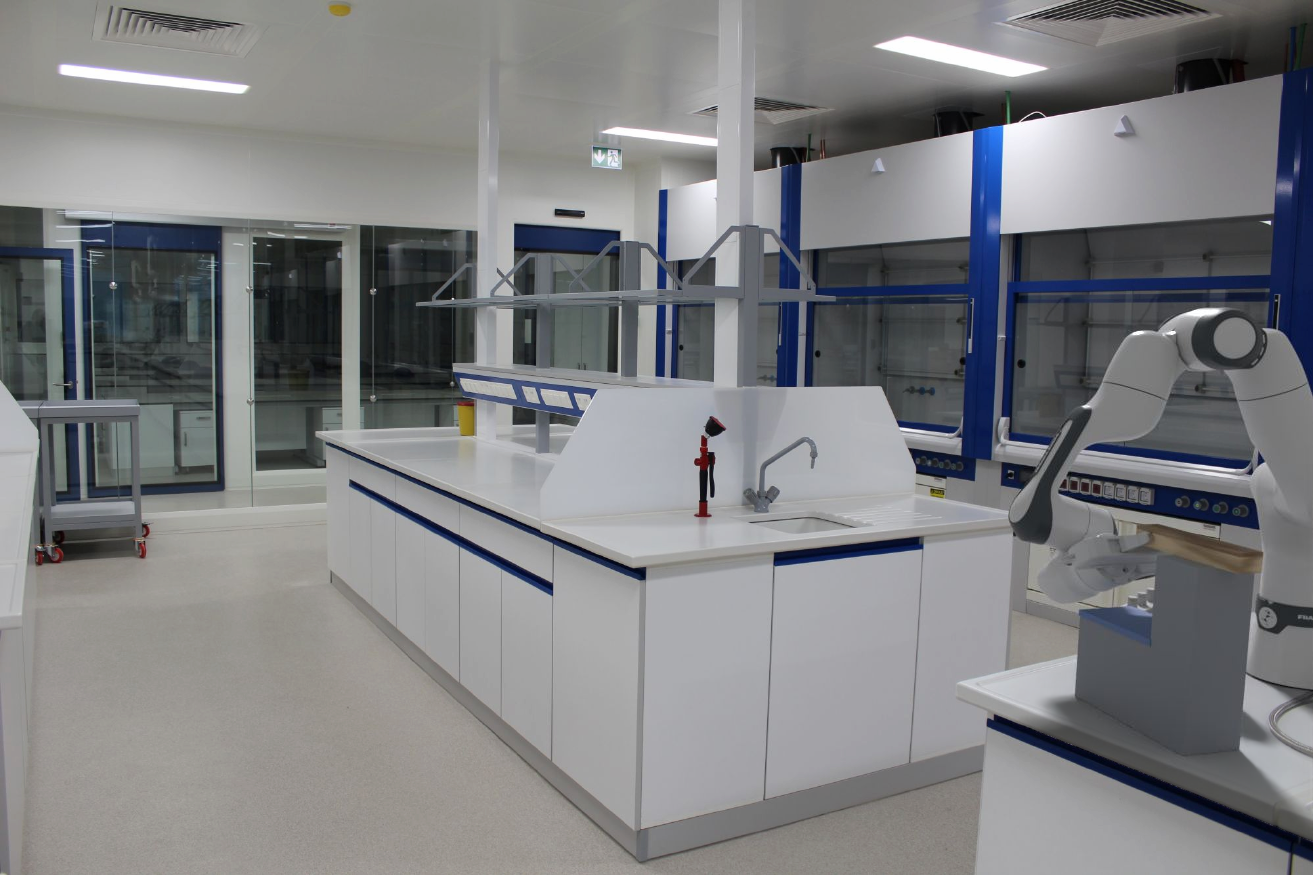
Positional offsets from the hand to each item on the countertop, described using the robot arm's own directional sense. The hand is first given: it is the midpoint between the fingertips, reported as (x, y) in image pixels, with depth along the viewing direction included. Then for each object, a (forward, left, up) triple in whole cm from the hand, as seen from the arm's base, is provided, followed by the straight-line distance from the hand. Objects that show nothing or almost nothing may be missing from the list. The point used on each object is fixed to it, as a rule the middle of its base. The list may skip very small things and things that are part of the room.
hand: (1164, 535), depth 154 cm
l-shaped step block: (0, 0, -30) cm, 30 cm away
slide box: (0, +6, -2) cm, 7 cm away
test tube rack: (-23, -27, -30) cm, 46 cm away
